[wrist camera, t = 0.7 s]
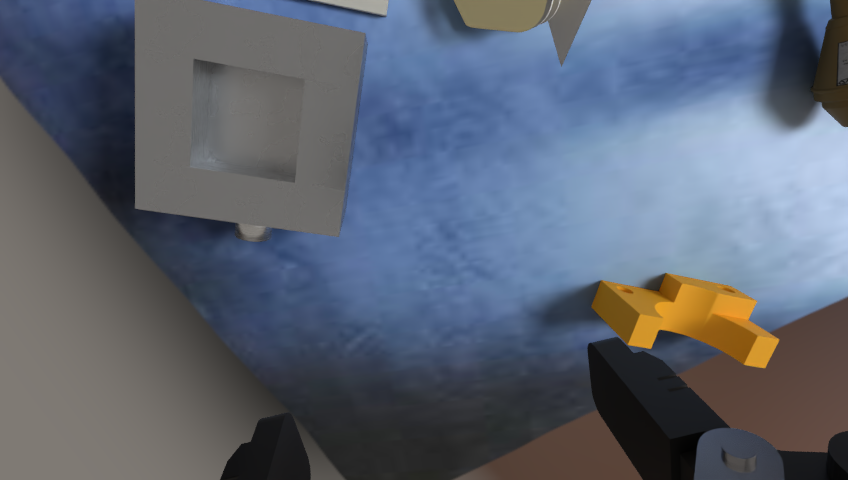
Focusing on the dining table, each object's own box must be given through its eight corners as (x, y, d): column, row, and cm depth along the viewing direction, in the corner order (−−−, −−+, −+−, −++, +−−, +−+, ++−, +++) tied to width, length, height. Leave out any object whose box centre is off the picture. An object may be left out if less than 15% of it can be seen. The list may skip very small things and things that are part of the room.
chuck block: (186, 8, 31) (134, -14, 24) (367, 44, 33) (365, 33, 26) (181, 211, 35) (135, 240, 28) (342, 234, 37) (335, 266, 30)
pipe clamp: (729, 285, 42) (789, 319, 36) (709, 328, 43) (764, 368, 37) (607, 260, 40) (649, 292, 34) (590, 306, 41) (627, 344, 35)
